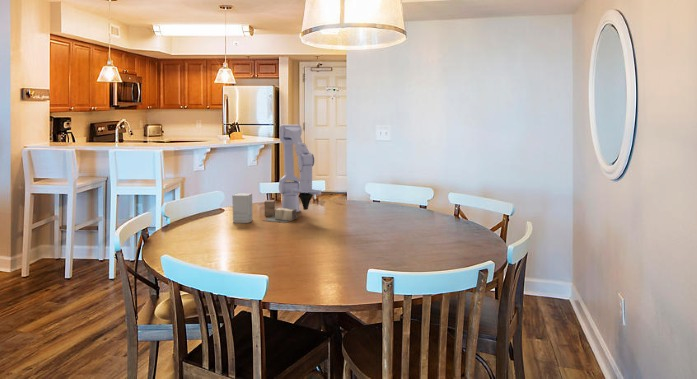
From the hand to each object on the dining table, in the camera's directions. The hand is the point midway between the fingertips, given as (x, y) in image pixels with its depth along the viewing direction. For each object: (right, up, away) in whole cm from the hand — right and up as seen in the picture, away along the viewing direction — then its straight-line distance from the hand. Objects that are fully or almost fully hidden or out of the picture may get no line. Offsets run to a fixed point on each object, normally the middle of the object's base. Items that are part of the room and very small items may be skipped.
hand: (305, 209), depth 229 cm
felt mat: (-12, -5, +4) cm, 14 cm away
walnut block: (-19, -3, +14) cm, 24 cm away
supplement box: (-28, -6, -3) cm, 29 cm away
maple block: (-5, -3, +2) cm, 6 cm away
